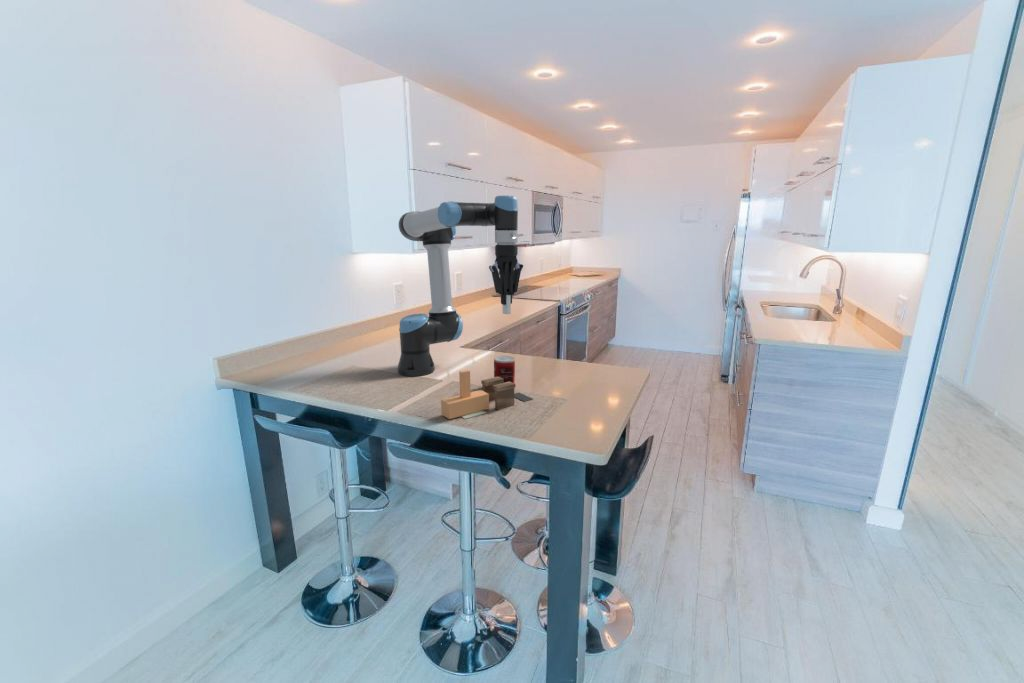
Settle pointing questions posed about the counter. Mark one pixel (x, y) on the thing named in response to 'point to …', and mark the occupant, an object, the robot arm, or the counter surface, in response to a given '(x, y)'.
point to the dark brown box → (499, 391)
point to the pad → (473, 414)
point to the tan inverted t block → (464, 399)
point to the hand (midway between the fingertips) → (506, 313)
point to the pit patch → (522, 397)
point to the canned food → (505, 368)
